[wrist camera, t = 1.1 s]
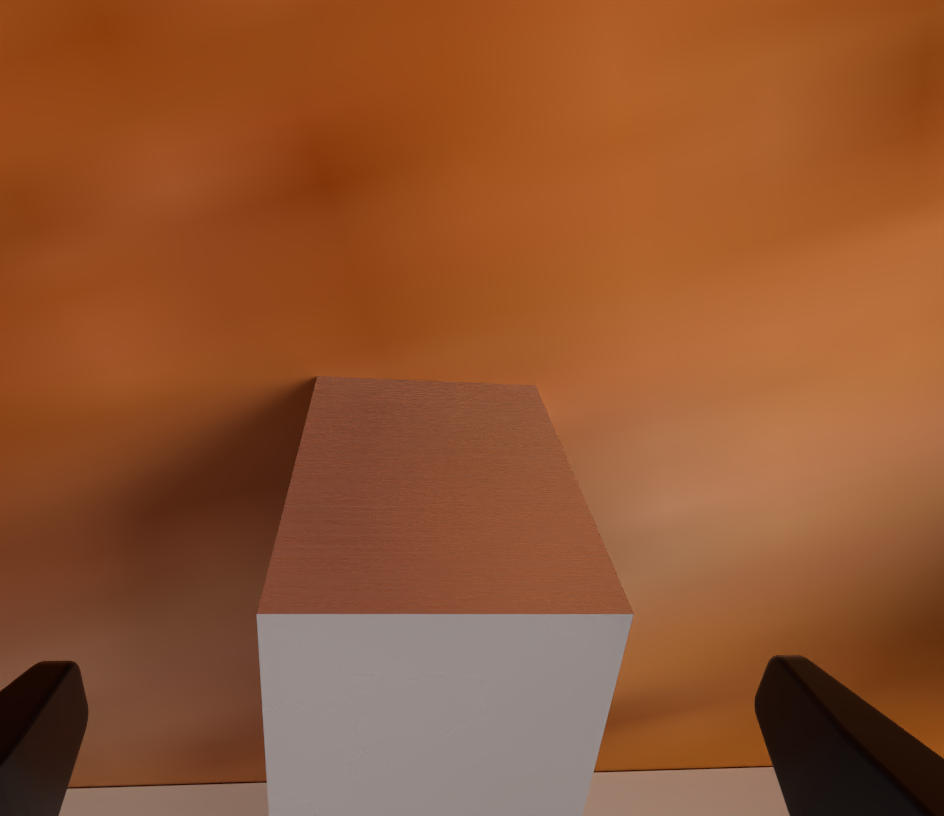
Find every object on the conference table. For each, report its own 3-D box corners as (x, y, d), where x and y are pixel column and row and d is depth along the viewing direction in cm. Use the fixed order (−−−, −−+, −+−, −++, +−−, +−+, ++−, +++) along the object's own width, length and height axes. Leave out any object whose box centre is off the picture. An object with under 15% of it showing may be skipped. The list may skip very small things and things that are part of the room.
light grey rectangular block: (535, 385, 13) (633, 613, 8) (511, 556, 15) (576, 840, 9) (317, 375, 12) (256, 614, 7) (319, 554, 14) (271, 852, 9)
